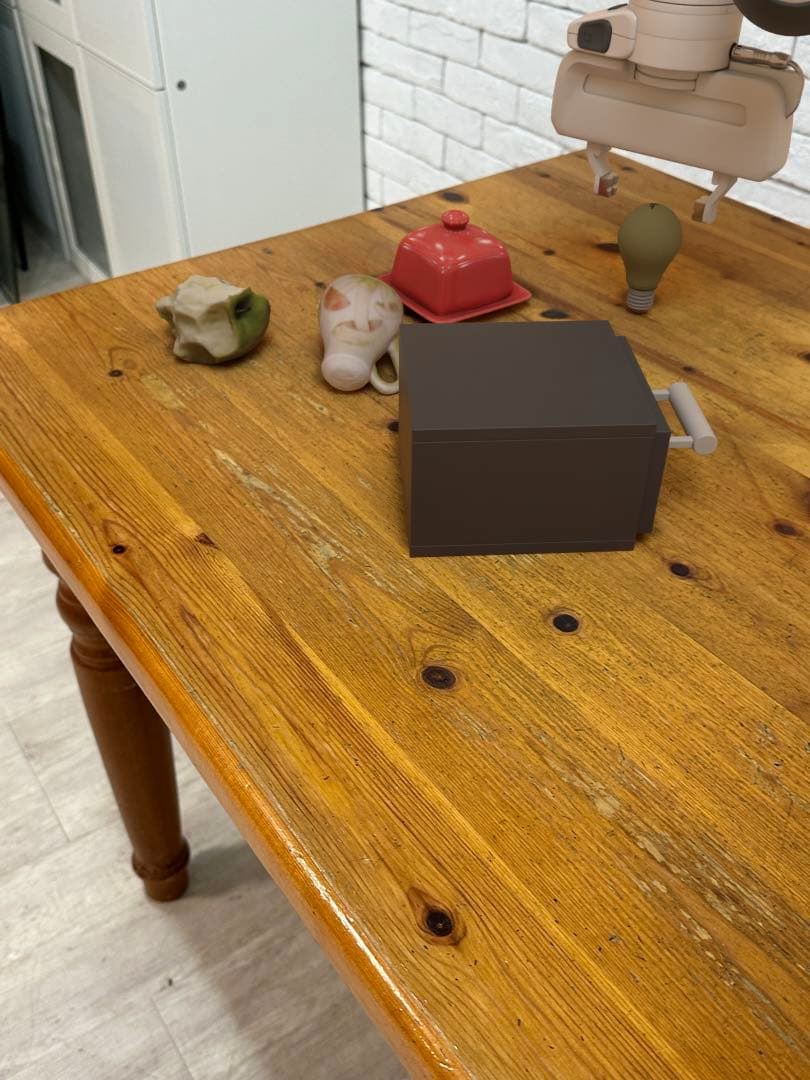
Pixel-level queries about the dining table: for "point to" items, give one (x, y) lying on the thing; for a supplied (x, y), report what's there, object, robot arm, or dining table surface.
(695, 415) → the drawer
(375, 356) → the mug
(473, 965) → the dining table surface
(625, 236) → the light bulb
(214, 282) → the fruit
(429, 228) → the butter dish
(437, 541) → the cabinet
